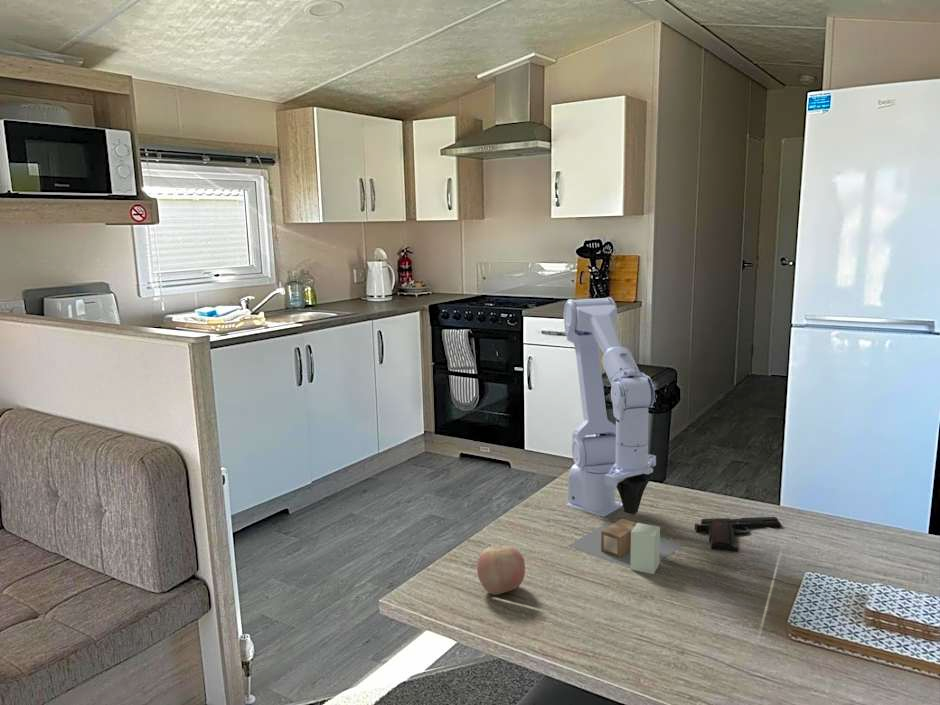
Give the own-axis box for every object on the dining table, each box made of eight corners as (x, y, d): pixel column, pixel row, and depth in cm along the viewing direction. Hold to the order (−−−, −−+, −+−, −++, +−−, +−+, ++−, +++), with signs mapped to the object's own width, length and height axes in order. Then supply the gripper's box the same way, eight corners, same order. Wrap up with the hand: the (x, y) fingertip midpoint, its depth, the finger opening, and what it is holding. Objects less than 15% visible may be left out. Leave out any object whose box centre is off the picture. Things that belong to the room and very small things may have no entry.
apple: (530, 584, 122) (529, 540, 120) (517, 607, 115) (516, 561, 113) (485, 577, 124) (484, 534, 123) (470, 600, 117) (469, 554, 116)
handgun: (807, 543, 131) (774, 514, 142) (715, 546, 129) (689, 516, 141) (805, 555, 131) (772, 524, 143) (714, 558, 130) (688, 527, 141)
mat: (567, 547, 134) (567, 545, 134) (609, 523, 144) (609, 521, 144) (644, 575, 123) (644, 572, 123) (683, 546, 133) (683, 544, 133)
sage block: (630, 569, 125) (630, 531, 123) (636, 559, 128) (637, 522, 127) (653, 574, 123) (654, 536, 121) (659, 564, 126) (660, 526, 125)
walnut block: (621, 538, 136) (601, 551, 131) (622, 518, 136) (601, 531, 131) (640, 544, 134) (620, 558, 129) (640, 524, 133) (620, 537, 128)
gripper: (629, 456, 123) (629, 531, 126) (671, 436, 134) (669, 505, 136) (595, 448, 128) (594, 520, 131) (637, 429, 138) (636, 496, 141)
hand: (630, 512), depth 134 cm, fingers closed
